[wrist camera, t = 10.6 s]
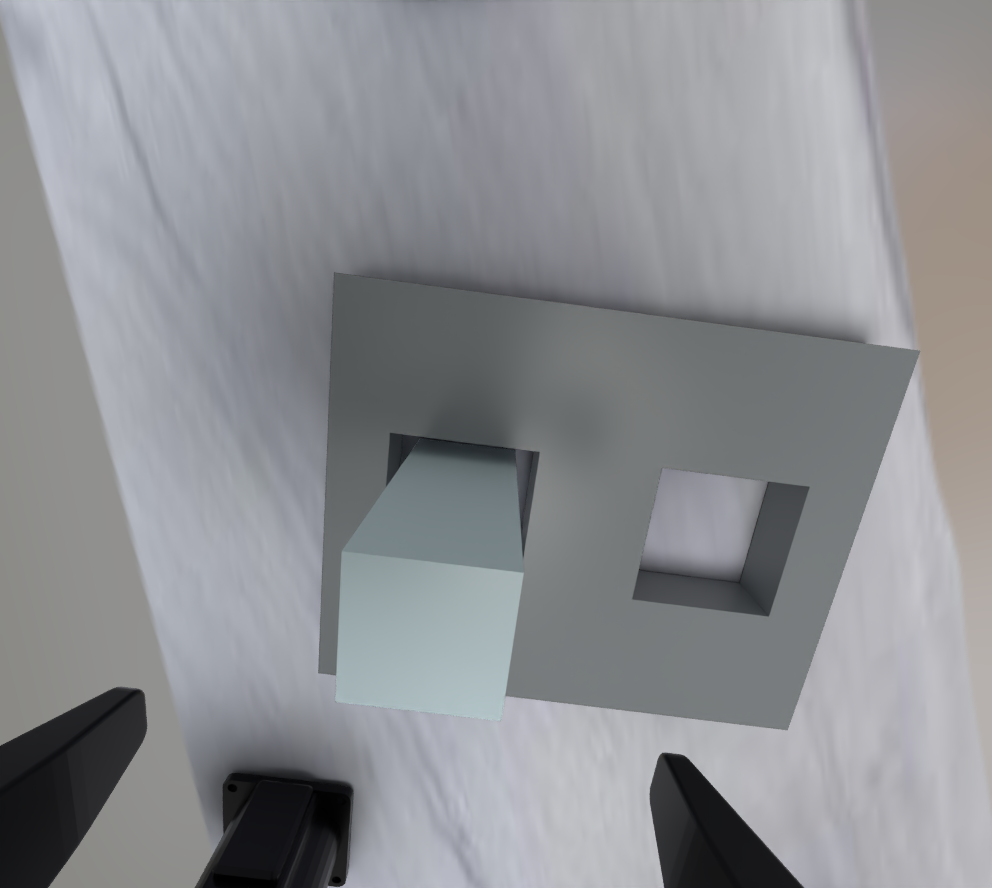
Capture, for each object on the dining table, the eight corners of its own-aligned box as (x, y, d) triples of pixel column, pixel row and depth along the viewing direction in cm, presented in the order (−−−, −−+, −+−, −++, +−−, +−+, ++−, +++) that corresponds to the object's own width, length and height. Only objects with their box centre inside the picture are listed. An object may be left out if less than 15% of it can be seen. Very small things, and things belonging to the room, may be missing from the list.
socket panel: (757, 686, 23) (790, 734, 20) (338, 635, 23) (316, 676, 20) (866, 346, 19) (925, 351, 16) (356, 278, 19) (331, 271, 16)
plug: (503, 536, 21) (501, 720, 12) (412, 526, 21) (335, 702, 12) (515, 450, 20) (523, 572, 11) (420, 438, 20) (341, 550, 11)
